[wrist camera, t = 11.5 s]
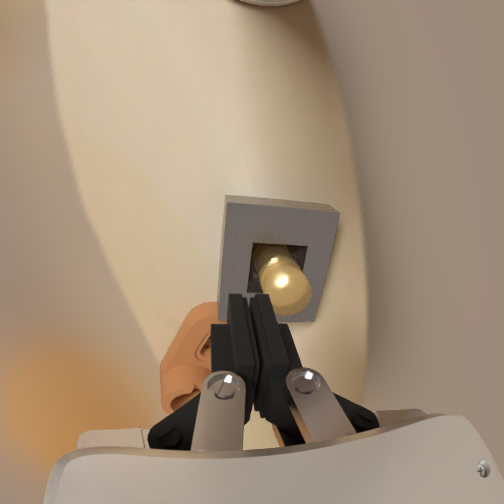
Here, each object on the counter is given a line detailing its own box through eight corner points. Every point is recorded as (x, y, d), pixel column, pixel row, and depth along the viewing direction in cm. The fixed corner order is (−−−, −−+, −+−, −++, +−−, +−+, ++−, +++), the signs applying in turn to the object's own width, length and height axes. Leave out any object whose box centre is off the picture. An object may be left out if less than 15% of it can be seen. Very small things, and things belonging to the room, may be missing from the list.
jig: (225, 194, 31) (227, 202, 27) (327, 204, 33) (340, 212, 29) (216, 304, 36) (217, 320, 33) (306, 306, 38) (314, 321, 35)
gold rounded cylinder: (255, 238, 33) (269, 274, 25) (291, 240, 34) (316, 275, 26) (250, 272, 35) (262, 315, 27) (285, 273, 35) (306, 315, 27)
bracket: (200, 388, 43) (206, 422, 37) (153, 377, 40) (154, 413, 34) (255, 311, 38) (270, 347, 32) (200, 292, 35) (206, 329, 29)
